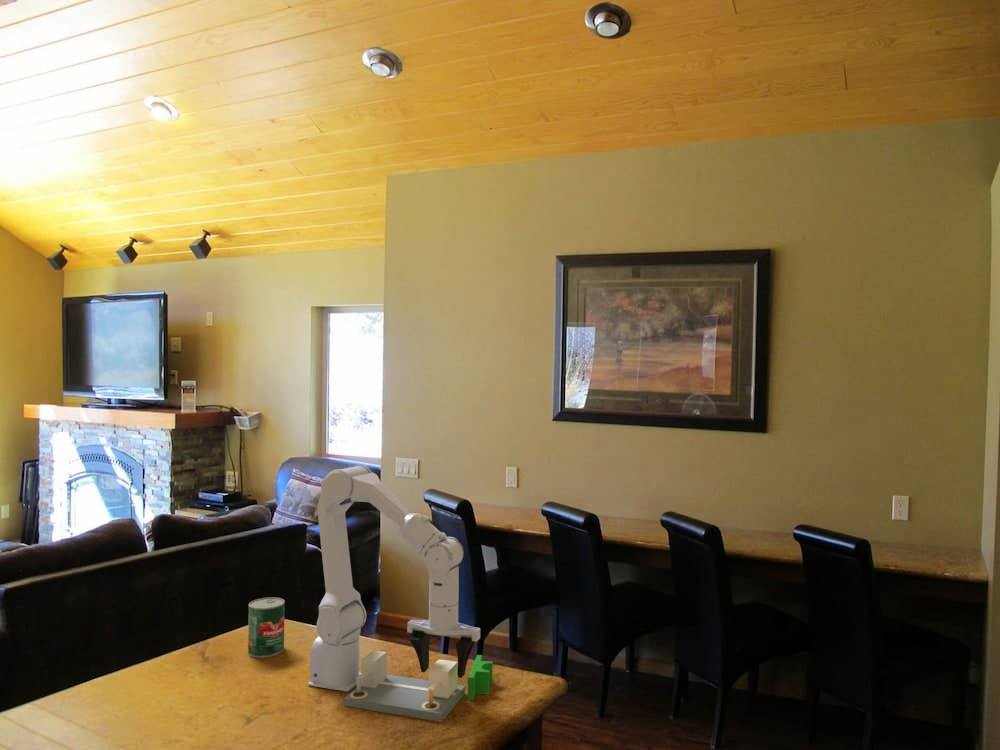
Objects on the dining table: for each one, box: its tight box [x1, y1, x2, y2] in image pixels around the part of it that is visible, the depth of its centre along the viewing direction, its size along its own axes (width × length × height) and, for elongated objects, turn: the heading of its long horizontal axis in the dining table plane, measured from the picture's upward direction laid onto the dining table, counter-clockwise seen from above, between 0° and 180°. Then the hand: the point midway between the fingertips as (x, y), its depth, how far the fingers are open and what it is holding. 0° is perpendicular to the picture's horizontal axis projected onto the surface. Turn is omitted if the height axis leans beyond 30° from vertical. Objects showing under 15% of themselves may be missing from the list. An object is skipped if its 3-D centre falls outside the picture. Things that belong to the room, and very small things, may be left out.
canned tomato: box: [247, 596, 286, 659], centre depth 156 cm, size 8×8×11 cm
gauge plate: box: [343, 649, 466, 723], centre depth 132 cm, size 20×12×7 cm, turn 72°
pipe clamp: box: [467, 654, 494, 701], centre depth 137 cm, size 11×4×5 cm, turn 173°
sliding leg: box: [428, 659, 459, 705], centre depth 130 cm, size 4×9×5 cm, turn 162°
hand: (442, 673), depth 131 cm, fingers open, 7 cm apart
